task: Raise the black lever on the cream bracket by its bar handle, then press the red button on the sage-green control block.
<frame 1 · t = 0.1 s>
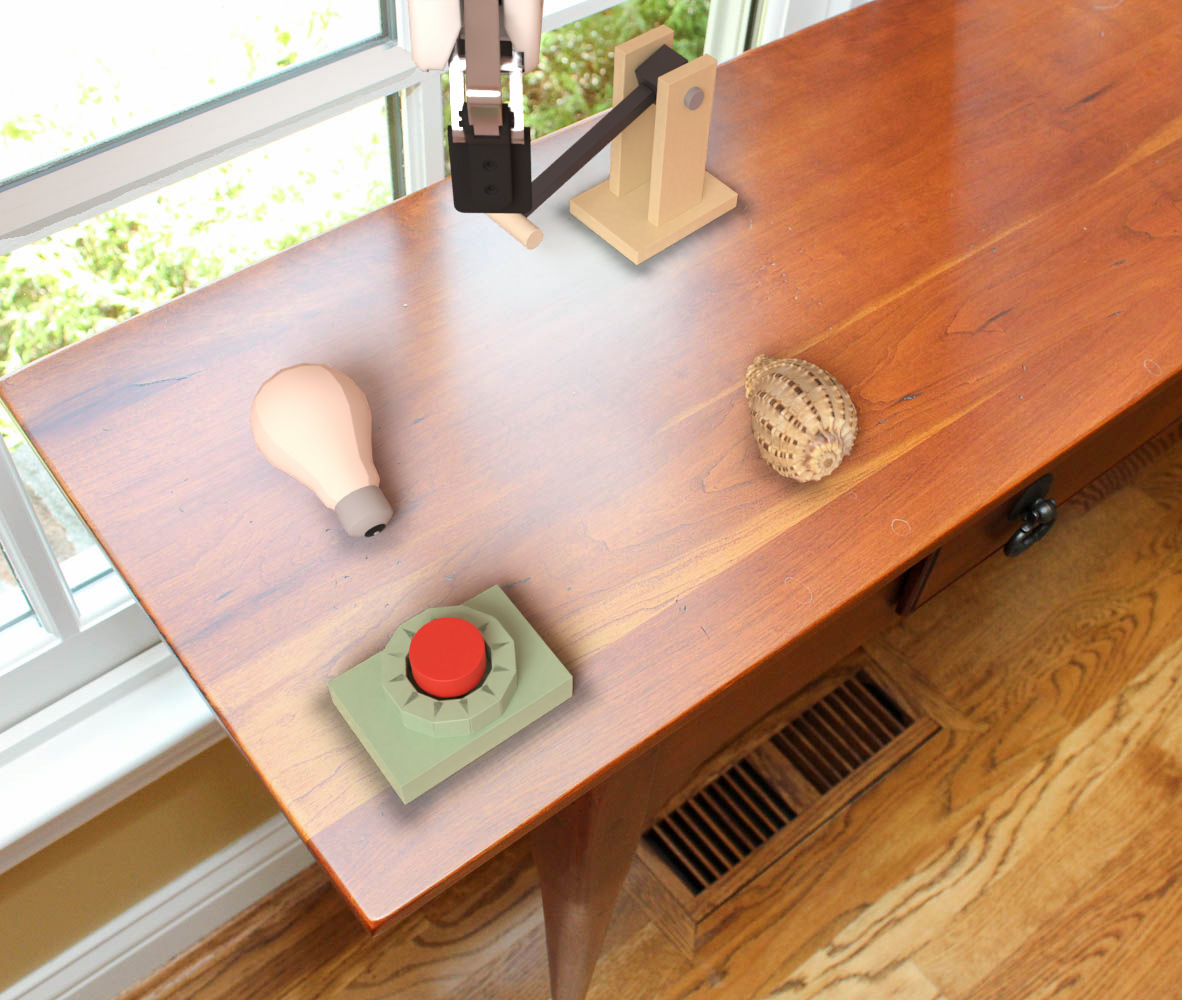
hand: (493, 135, 54), 24 cm above the table, tool pointing down, fingers open, 9 cm apart
button: (448, 657, 60), point 4 cm above the table, slide at 0.1 cm
lever: (591, 143, 78), point 9 cm above the table, hinge at -20.0°
seashell: (790, 434, 78), on the table
light bulb: (335, 483, 71), on the table
bracket: (654, 209, 88), on the table
control block: (454, 699, 64), on the table
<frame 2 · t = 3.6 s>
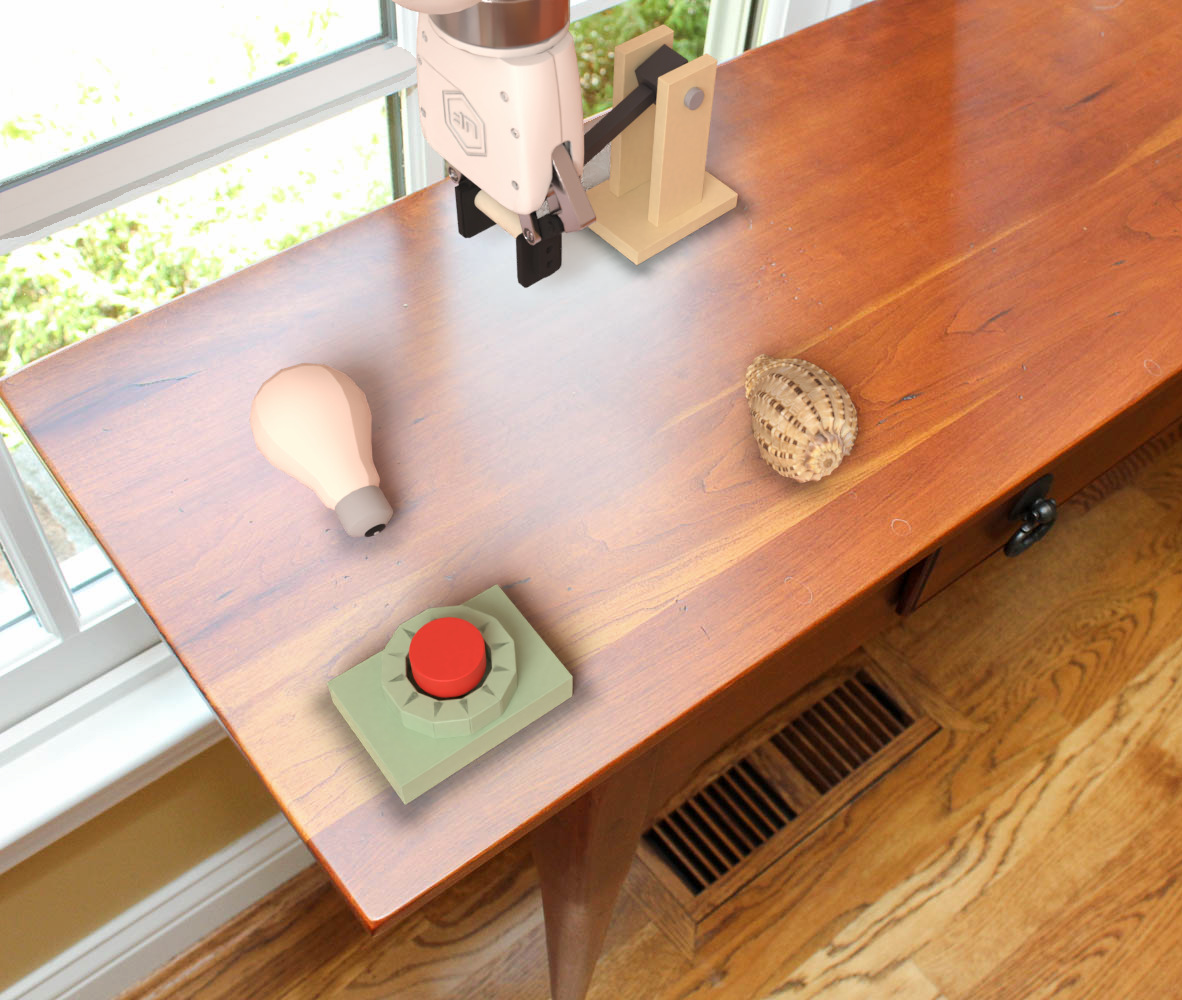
hand: (510, 249, 79), 4 cm above the table, tool pointing down, fingers closed on lever, 5 cm apart
lever: (591, 143, 78), point 9 cm above the table, hinge at -20.0°, touching gripper
everything else where it was.
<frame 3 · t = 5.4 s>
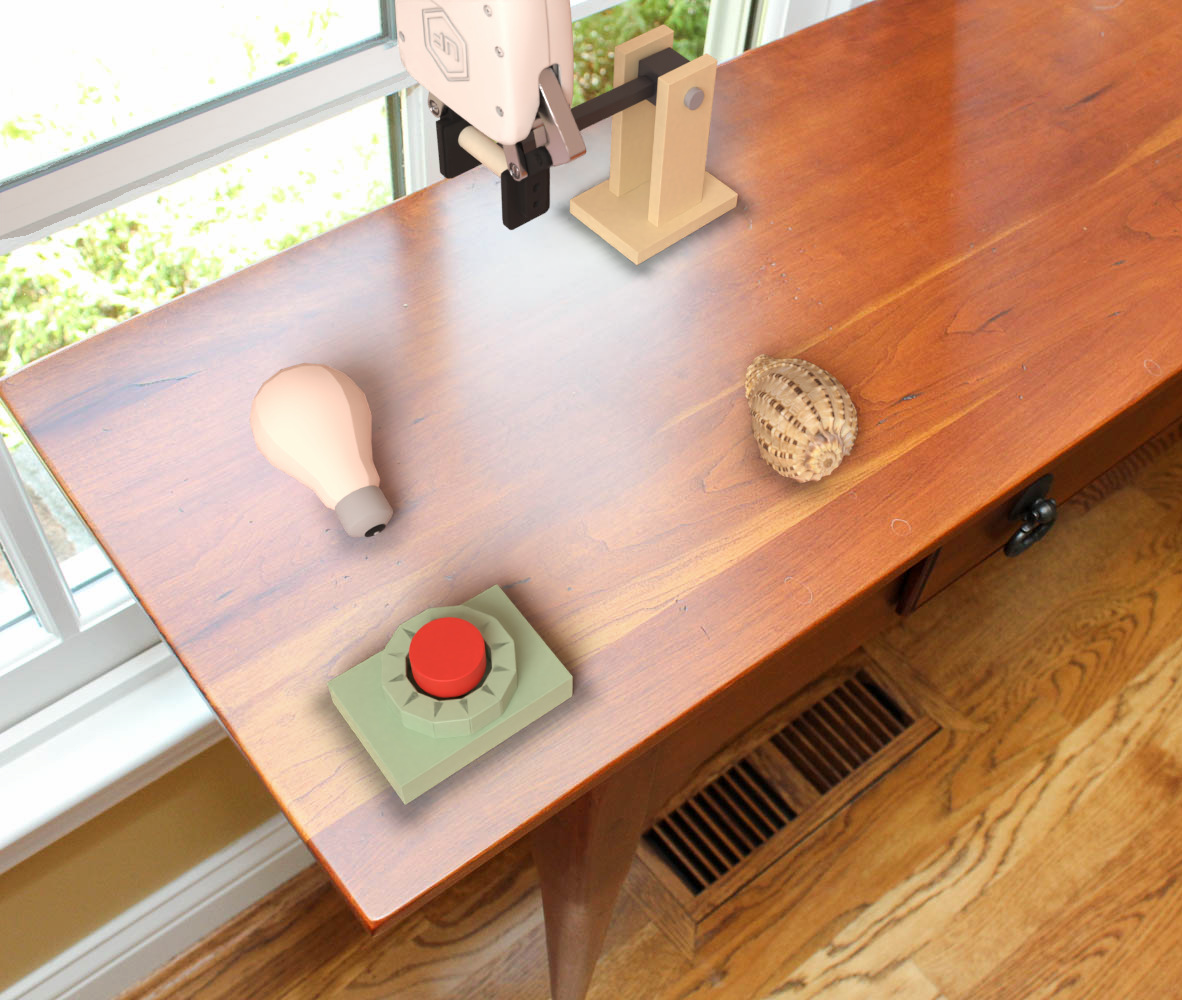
hand: (494, 190, 74), 9 cm above the table, tool pointing down, fingers closed on lever, 5 cm apart
lever: (587, 113, 76), point 11 cm above the table, hinge at 1.3°, touching gripper
everything else where it was.
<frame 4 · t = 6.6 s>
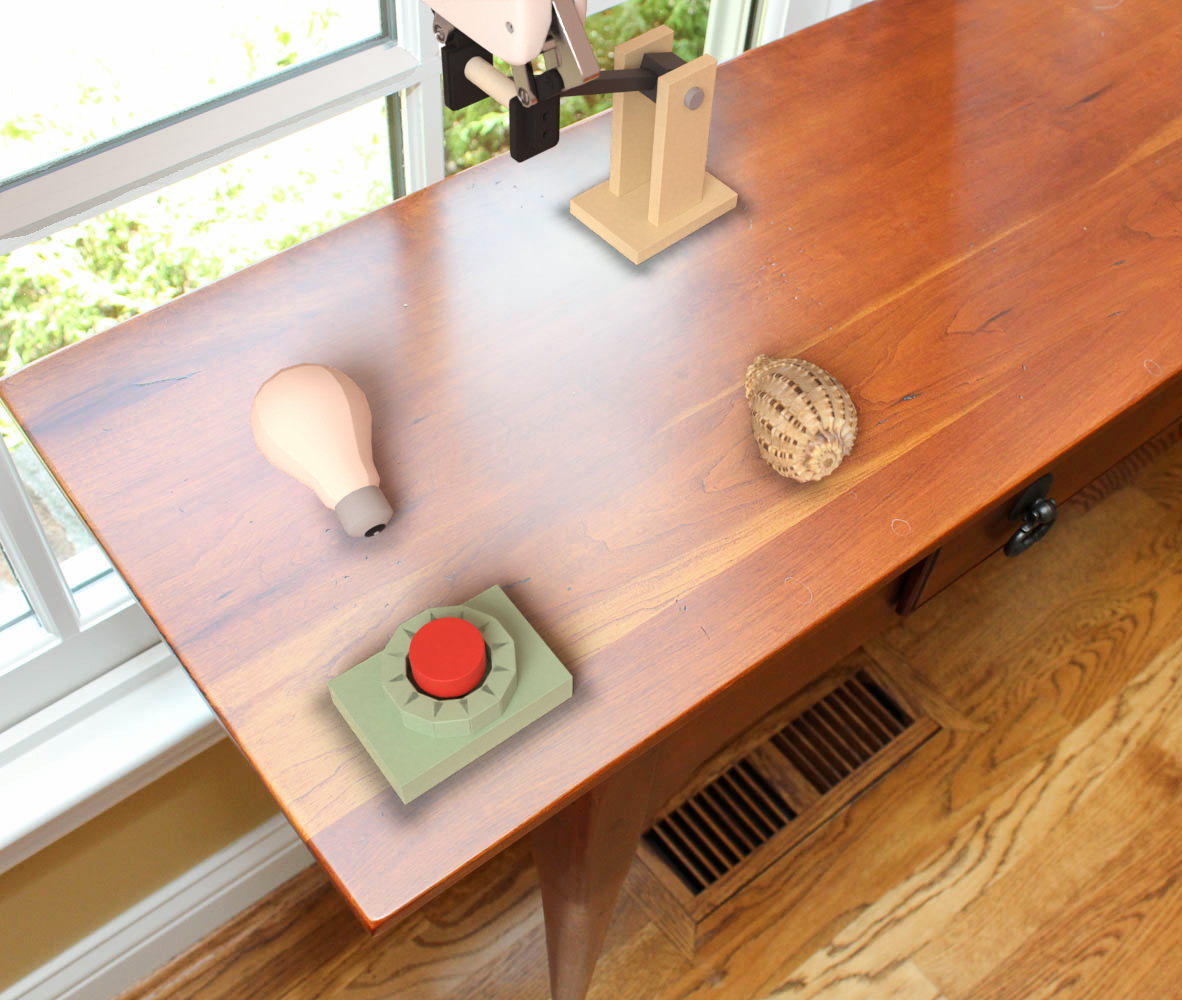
hand: (501, 123, 71), 13 cm above the table, tool pointing down, fingers closed on lever, 5 cm apart
lever: (592, 82, 75), point 13 cm above the table, hinge at 19.5°, touching gripper
everything else where it was.
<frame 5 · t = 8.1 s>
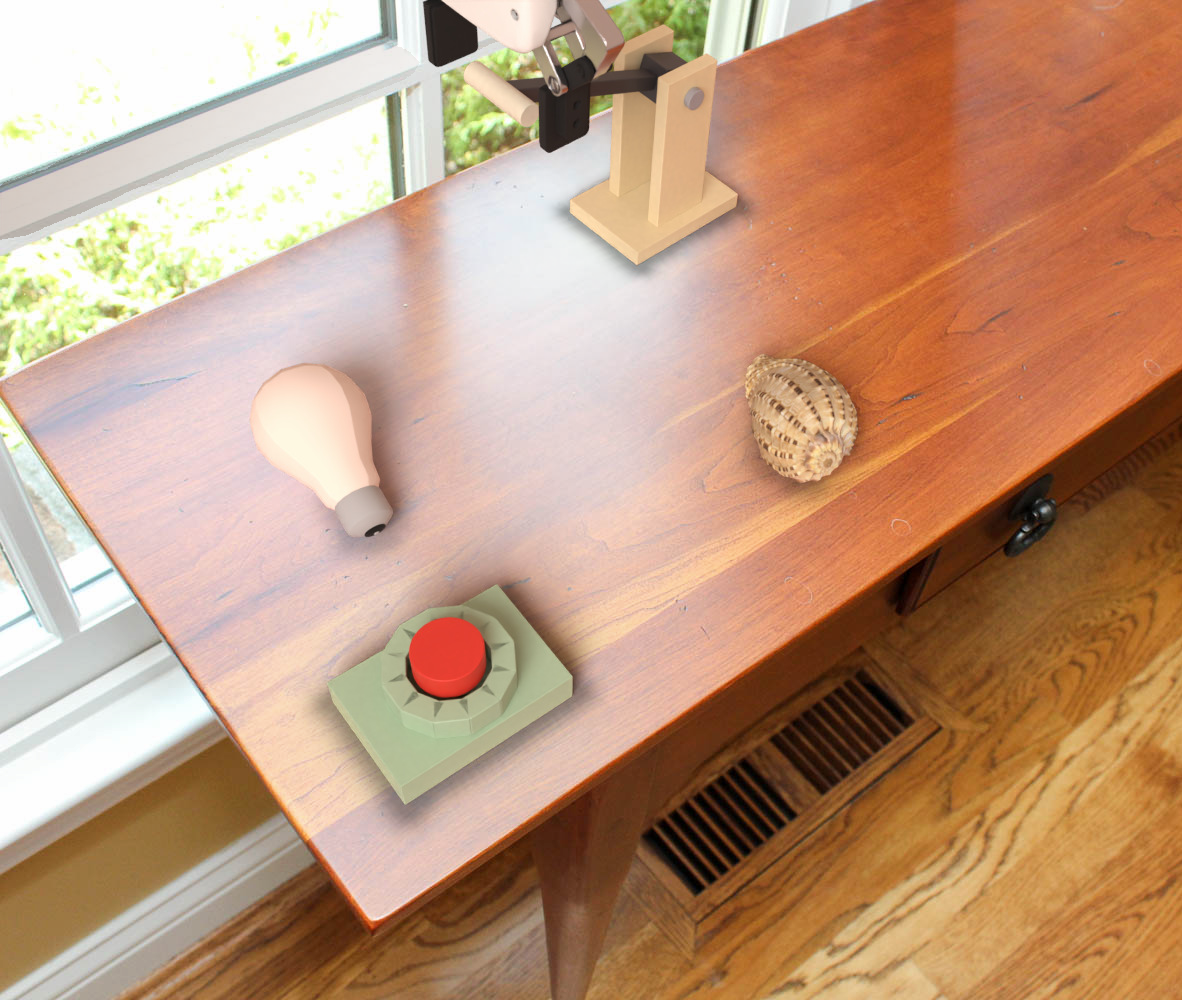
hand: (507, 98, 70), 15 cm above the table, tool pointing down, fingers open, 9 cm apart
lever: (592, 84, 75), point 13 cm above the table, hinge at 18.4°
everything else where it was.
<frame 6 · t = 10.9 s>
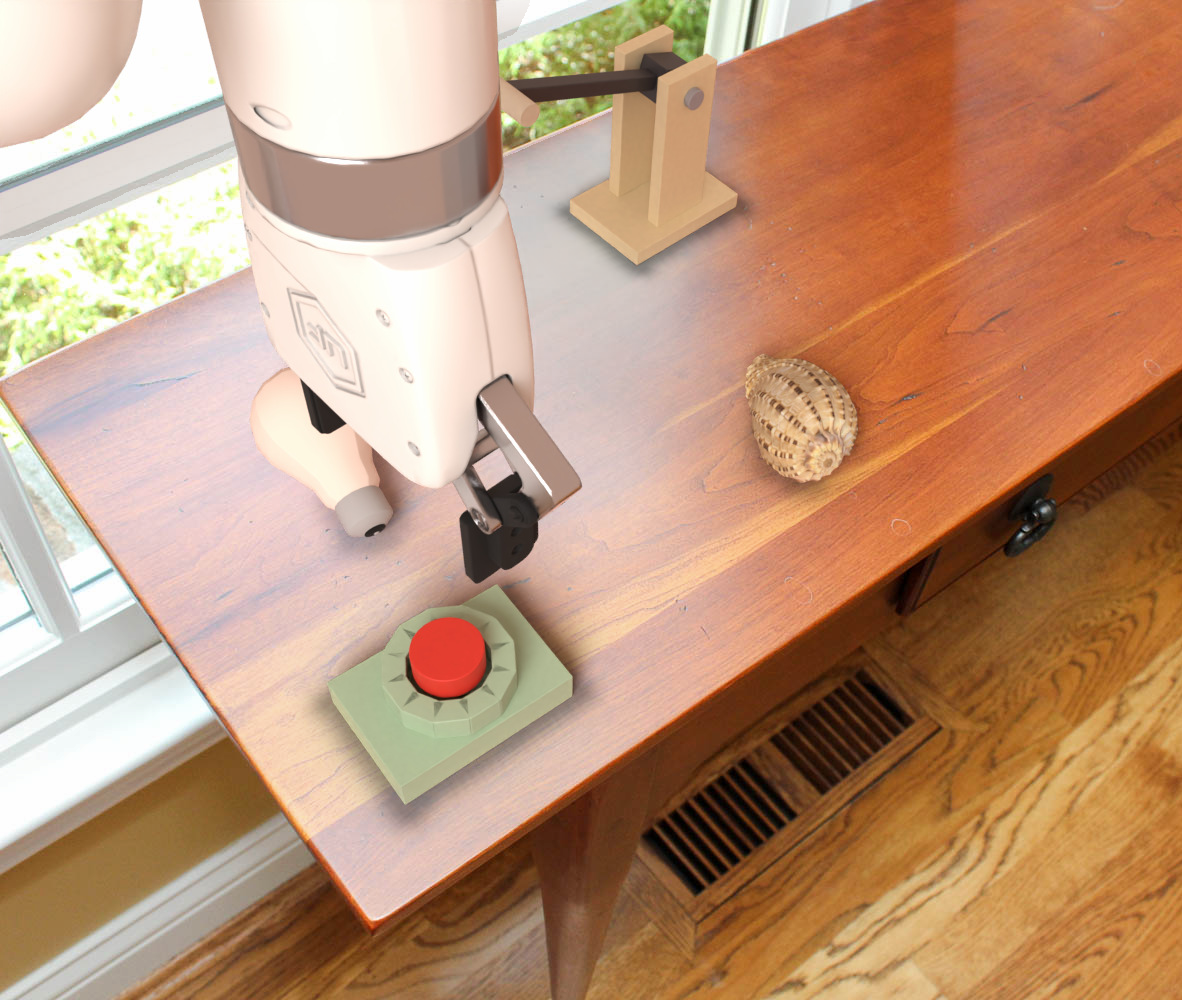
hand: (423, 484, 49), 18 cm above the table, tool pointing down, fingers open, 9 cm apart
nothing on the table moved.
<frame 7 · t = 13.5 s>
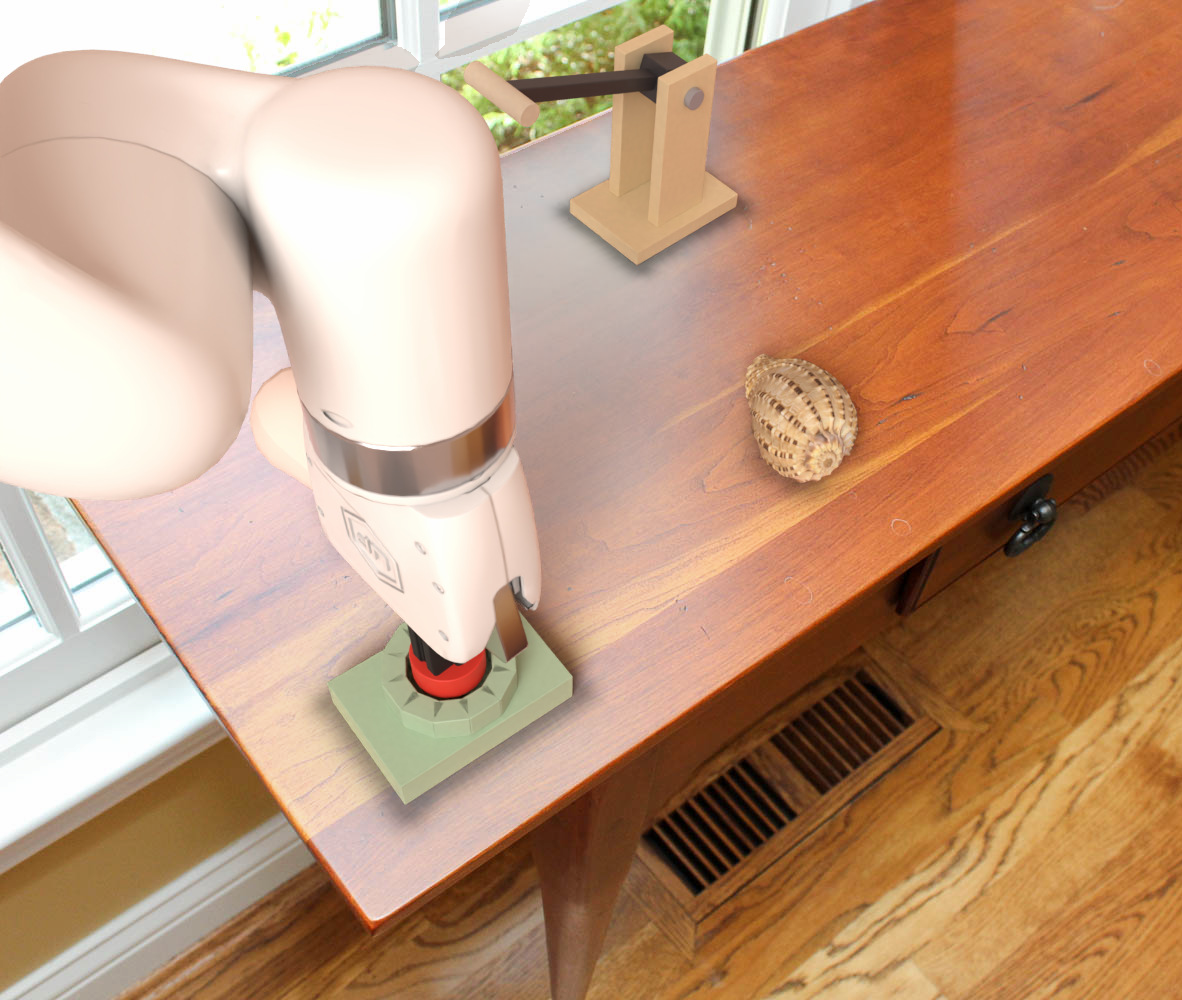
hand: (451, 647, 60), 5 cm above the table, tool pointing down, fingers closed
button: (448, 657, 60), point 4 cm above the table, slide at 0.1 cm, touching gripper
everything else where it was.
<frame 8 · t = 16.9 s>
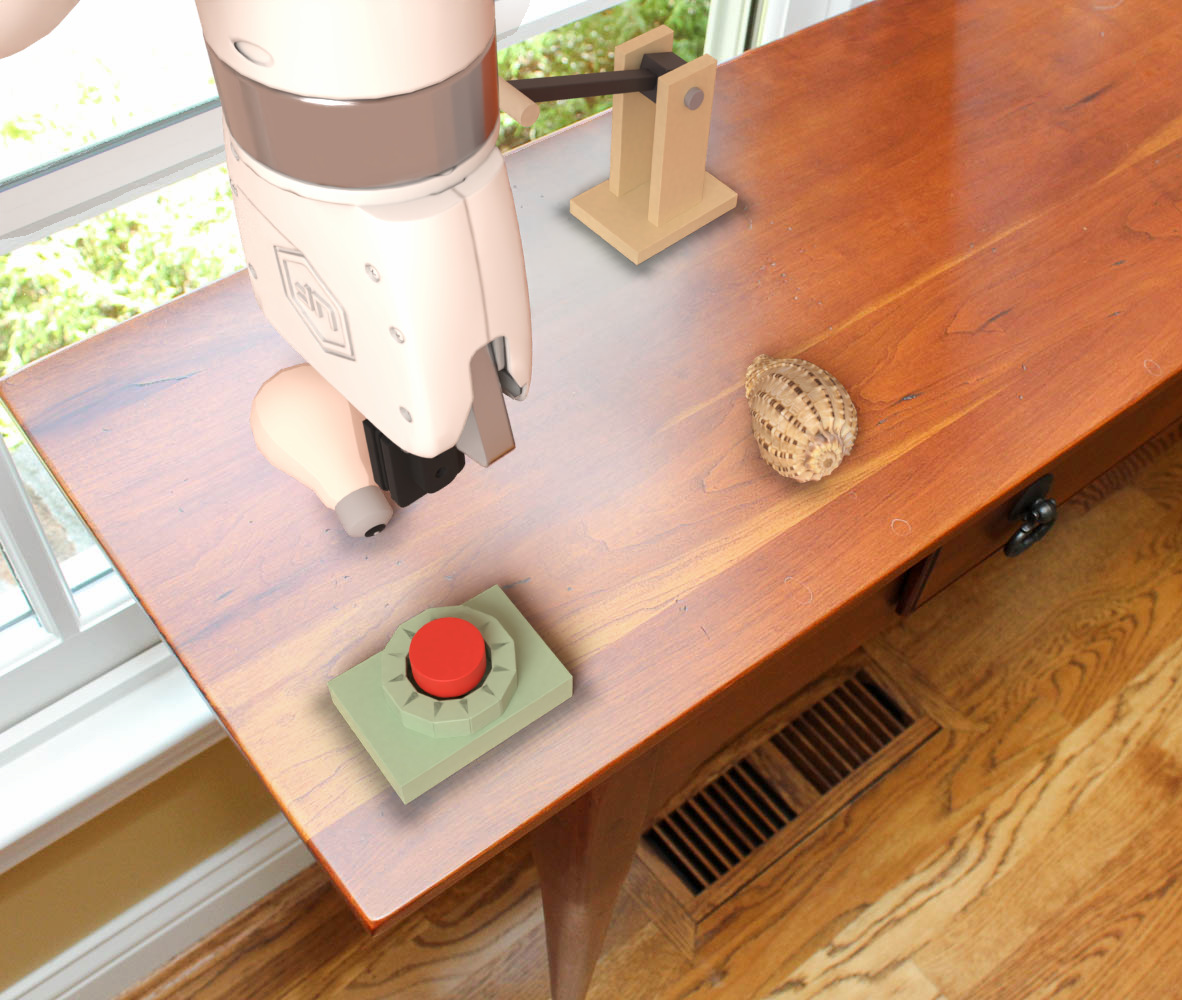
hand: (421, 476, 49), 19 cm above the table, tool pointing down, fingers closed
button: (448, 657, 60), point 4 cm above the table, slide at 0.1 cm
everything else where it was.
at the end: lever at +18° (first picture: -20°); button pushed in 1.1 cm at the most during the clip, back to where it started at the end; button slide at 0.1 cm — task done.
